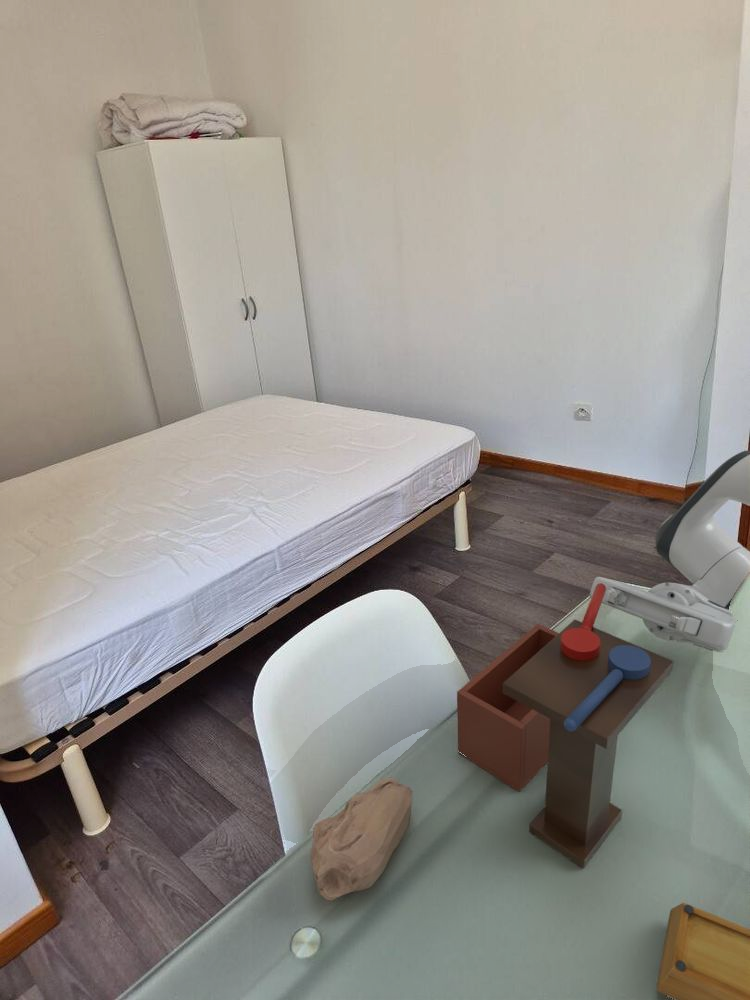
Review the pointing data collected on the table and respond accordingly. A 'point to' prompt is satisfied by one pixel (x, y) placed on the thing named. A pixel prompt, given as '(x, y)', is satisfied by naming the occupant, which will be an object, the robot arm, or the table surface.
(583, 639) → the red spoon
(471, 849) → the table surface
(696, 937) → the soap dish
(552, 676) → the shelf stand
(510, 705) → the bin
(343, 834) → the rock
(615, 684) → the blue spoon
